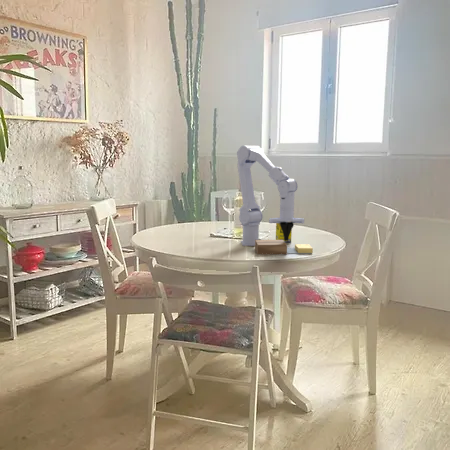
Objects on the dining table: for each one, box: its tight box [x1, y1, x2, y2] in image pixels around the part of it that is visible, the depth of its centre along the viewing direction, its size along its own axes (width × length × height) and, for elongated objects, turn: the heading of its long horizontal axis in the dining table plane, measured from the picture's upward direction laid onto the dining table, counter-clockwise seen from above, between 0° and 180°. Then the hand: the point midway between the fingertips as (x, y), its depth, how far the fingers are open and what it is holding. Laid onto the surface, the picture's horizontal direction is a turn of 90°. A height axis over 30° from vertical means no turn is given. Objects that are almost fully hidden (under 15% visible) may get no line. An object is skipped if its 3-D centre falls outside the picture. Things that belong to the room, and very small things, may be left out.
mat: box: [286, 247, 312, 255], centre depth 206 cm, size 11×10×1 cm
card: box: [294, 243, 314, 253], centre depth 205 cm, size 8×6×2 cm
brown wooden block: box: [254, 239, 288, 256], centre depth 204 cm, size 11×12×4 cm
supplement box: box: [275, 221, 293, 244], centre depth 225 cm, size 6×6×11 cm
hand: (286, 240), depth 204 cm, fingers closed
